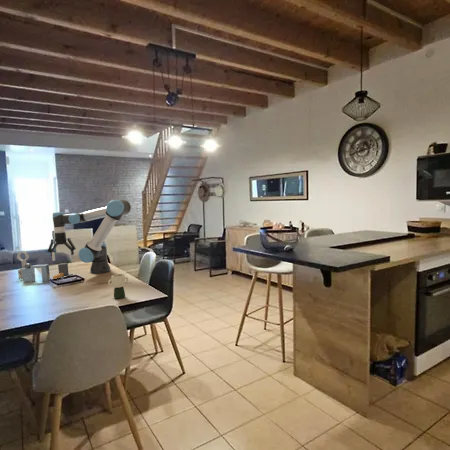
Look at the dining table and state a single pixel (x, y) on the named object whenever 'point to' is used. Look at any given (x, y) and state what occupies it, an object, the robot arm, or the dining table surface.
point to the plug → (62, 270)
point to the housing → (30, 272)
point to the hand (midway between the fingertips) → (62, 259)
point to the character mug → (118, 285)
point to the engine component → (22, 262)
